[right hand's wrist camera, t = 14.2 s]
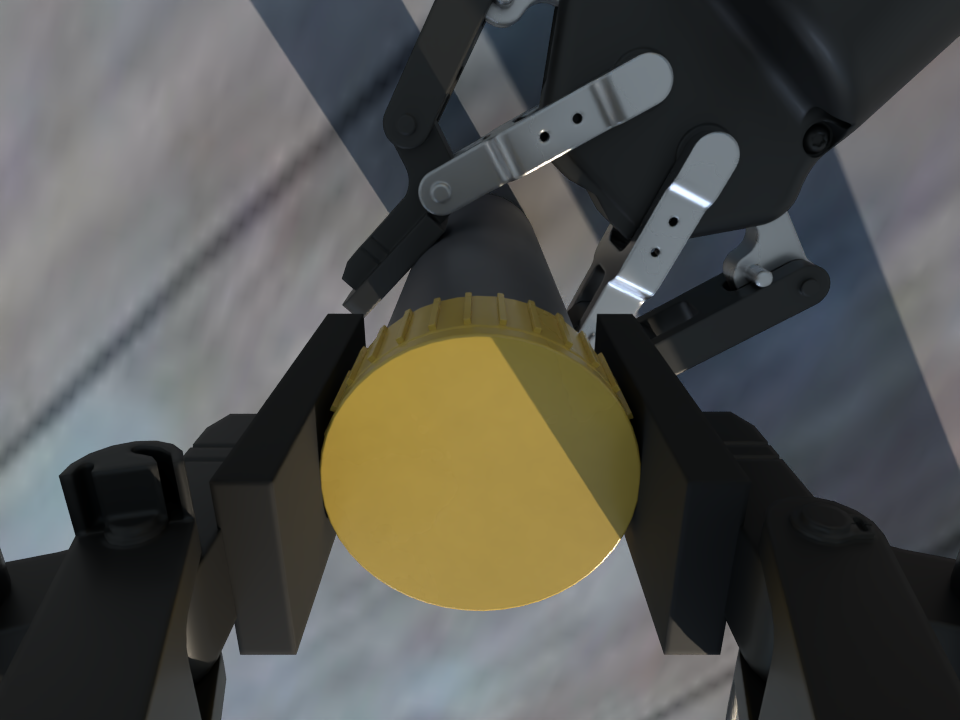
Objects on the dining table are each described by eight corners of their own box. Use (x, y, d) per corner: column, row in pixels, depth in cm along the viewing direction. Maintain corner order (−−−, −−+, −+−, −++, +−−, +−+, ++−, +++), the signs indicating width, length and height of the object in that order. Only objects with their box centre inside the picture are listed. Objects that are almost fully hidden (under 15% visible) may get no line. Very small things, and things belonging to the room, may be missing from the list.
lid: (365, 259, 11) (342, 292, 9) (660, 328, 11) (695, 374, 9) (319, 512, 13) (292, 583, 11) (574, 563, 13) (590, 639, 11)
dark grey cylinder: (507, 172, 24) (550, 288, 10) (554, 276, 26) (656, 518, 11) (403, 224, 25) (290, 408, 10) (454, 323, 27) (423, 608, 12)
